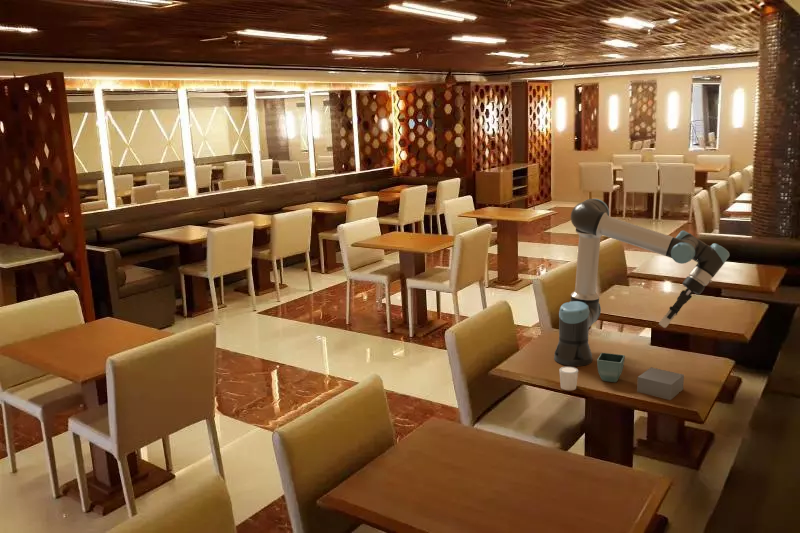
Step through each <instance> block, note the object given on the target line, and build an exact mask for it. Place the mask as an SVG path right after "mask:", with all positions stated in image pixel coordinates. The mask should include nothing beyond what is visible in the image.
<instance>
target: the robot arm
mask: <svg viewBox="0 0 800 533" xmlns="http://www.w3.org/2000/svg"><path fill="white" fill-rule="evenodd" d="M608 206H609V205H607V203H606V202H605V201H603V200H602V199H599V198H588V199H585V200H584V201H582V202H579V203H577V204H576V205H575V206H574V207H573V208H572V210H571V213H570V220H571V224H572V225H573V226H574V227H575V233H577V235H578V245H577V246H578V247H577V259H576V272H575V286H574V291H572V292H571V293H570V301H568V302H564V303H562V304H561V306H560V307H559V311H558V318H559V319H558V320H559V321H558V343H557V345H556V349H555V351H554V355H553V356H554V357H553V359H554V361H555V362H556V363H558V364H559V365H564V366H568V367H581V366H587V365H589V364H591V363H592V362H593V355H592V350H591V348H590V344H589V332H590V331H589V329H590V327H591V326H593V325H594V324H595V323H596V322H597V321H598V320H599V317H600V316H601V311H602V307H601V304H600V295H599V294H598V293H597V286H598V285H597V283H598V270H599V261H600V251H601V250H600V249H601V248H600V247H601V237H602V236H605V237H606V238H609V239H610V238H611V239H613V240H616V241H619V242H622V243H626V244H629V245H631V246H635V247H638V248H641V249H644V250H646V251H649V252H653V253H656V254H658V255H662V256H665V257H667V258H670V259H671V260H673V261H674V262H676V263H677V264H679V265H680V264H688V263H689V262H690V261H692V260H693V261H694V262H696V263H697V264H695V266H694V267H693V268H692V269H691V271H690V272H689V274H688V276H686V277H685V278H684V280H683V281H682V283H681V284H682V286H684V287H685V290H682V291H681V292H680V293H679V295H678V296H677V297H676V301H675V302H674V303H673V305H672V306H670V307H669V310H668V311H667V312H666V313H665V315H664V316H663V317H662V318H661V320H659V323H658V325H659V326H661V327H662V328H664V329H666V328H667V327H668V326H669V325H670V323H671V321H673V319H674V318H675V317H676V316H678V313H679V312H680V311H681V309H682V308H683V307H684V305H685V304H687V303H688V302H689V300H691V299H692V295H693V294H695V295H698V296H699V295H701V293H703V291H704V290H705V287H706V286H708V285H709V283H713V280H712V279H713V278H714V277H715V276H716V274H718V272H719V270H721V269H722V267H723V266H724V265H725V263H726V262H727V260H728V259H729V257H730V252H729V251H728V250H727V248H725V247H723V246H722V245H719V243H716V242H715V243H712V244H711V245H708V244H707V243H705V242H704V241H702V240H700V239H699V238H697V237H696V236H694V235H693V234H692V233H689V232H688V231H686V230H680V232H679V233H678V234H677V235H676V237H674V236H671V235H668V234H665V233H661V232H660V231H659V232H658V231H655V230H652V229H649V228H647V227H643V226H640V225H638V224H634V223H631V222H627V221H625V220H621V219H618V218H616V217H612V216H610V209H609V207H608Z"/></svg>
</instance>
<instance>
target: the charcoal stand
mask: <svg viewBox="0 0 800 533" xmlns="http://www.w3.org/2000/svg"><path fill="white" fill-rule="evenodd" d="M684 378H685V374H683V373H678V372H675V371H674V372H673V371H670V370H665V369H661V368H656V367H652V366H651V367H650V368H648V369H646V371H644V372H642V373H641V374H639V375H638V376H637V380H636V381H637V386H636V387H637V388H636V392H637V393H640V394H644V395H648V396H653V397H657V398H661V399H664V400H668V401H671V400H673V399H674V398H675V397H676V396H678V395H679V392H680V393H681V392H682V391H684V381H685V379H684Z"/></svg>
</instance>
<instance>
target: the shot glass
mask: <svg viewBox="0 0 800 533" xmlns="http://www.w3.org/2000/svg"><path fill="white" fill-rule="evenodd" d="M558 371H559V382H560V388H561V389H562V390H564V391H574V390H577V383H578V376H579V369H578V368H576V367H575V366H562V367H560V368H559V370H558Z"/></svg>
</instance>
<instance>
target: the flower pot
mask: <svg viewBox="0 0 800 533" xmlns="http://www.w3.org/2000/svg"><path fill="white" fill-rule="evenodd" d="M625 358H626V355H625V354H618V353H617V354H616V353H609V352H601V353H600V355H599V356H598V358H597V360H596V363H597V372H598V375H599V376H600V379H601V380H602V381H603V382H609V383H610V382H611V383H617V382H618V380H619V378H620V376H621V375H622V373H623V370H624V366H625V365H624V364H625Z"/></svg>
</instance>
